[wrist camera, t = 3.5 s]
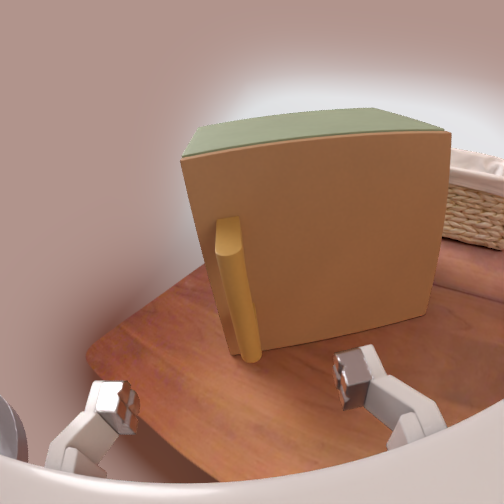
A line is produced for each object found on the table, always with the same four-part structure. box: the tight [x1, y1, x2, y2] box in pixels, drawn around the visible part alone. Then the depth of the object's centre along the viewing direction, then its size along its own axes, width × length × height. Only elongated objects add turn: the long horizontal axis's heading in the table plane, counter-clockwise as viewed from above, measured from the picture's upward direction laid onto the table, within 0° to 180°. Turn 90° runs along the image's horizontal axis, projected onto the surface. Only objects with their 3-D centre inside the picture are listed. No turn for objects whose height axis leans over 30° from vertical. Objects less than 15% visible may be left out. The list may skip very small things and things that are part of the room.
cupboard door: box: [180, 131, 451, 363], centre depth 29 cm, size 8×26×24 cm, turn 94°
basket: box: [442, 148, 504, 250], centre depth 51 cm, size 24×16×15 cm
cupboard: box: [182, 108, 444, 158], centre depth 40 cm, size 18×26×24 cm
